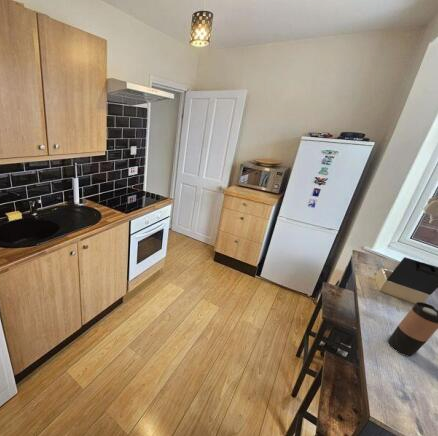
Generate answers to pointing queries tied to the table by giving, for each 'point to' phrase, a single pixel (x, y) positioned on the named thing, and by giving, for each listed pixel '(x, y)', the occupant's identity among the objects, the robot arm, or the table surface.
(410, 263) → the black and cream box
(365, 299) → the table surface
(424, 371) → the table surface
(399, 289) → the beige shallow box
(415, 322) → the travel mug
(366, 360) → the table surface
